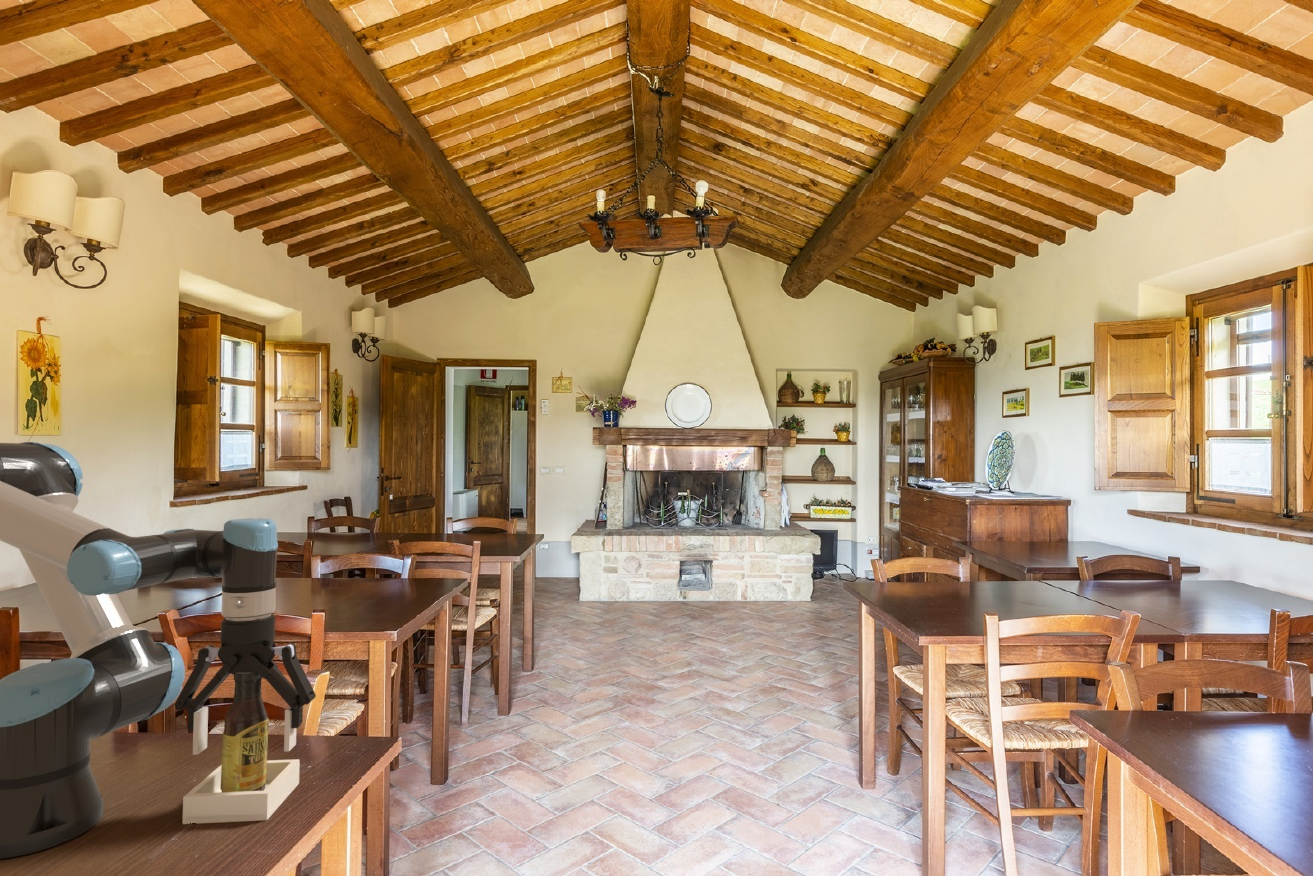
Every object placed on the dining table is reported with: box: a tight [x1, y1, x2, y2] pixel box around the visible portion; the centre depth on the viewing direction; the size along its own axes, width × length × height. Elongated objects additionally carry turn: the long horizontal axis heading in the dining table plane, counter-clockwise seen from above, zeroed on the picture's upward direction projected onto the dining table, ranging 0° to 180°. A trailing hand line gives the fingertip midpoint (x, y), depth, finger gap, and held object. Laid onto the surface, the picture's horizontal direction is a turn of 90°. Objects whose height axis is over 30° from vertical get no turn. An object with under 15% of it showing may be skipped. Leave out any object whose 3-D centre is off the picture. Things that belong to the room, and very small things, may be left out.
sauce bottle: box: [220, 672, 270, 792], centre depth 111 cm, size 7×6×20 cm
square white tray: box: [182, 758, 301, 825], centre depth 110 cm, size 12×12×4 cm
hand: (245, 750), depth 111 cm, fingers open, 13 cm apart
